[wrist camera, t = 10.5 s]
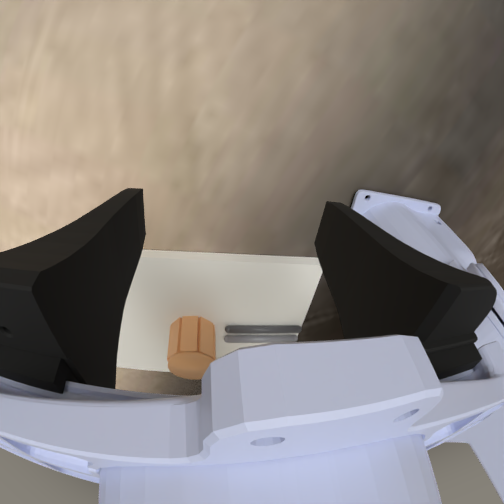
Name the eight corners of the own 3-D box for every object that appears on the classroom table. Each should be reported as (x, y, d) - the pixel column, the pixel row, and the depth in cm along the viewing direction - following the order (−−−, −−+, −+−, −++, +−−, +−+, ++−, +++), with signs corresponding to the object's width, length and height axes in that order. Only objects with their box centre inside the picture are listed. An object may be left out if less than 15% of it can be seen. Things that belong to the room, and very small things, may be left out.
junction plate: (321, 257, 25) (335, 289, 22) (280, 366, 36) (285, 392, 33) (71, 245, 22) (54, 276, 19) (111, 359, 33) (106, 386, 29)
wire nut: (213, 315, 27) (213, 355, 24) (216, 341, 30) (218, 378, 26) (167, 316, 27) (162, 355, 23) (175, 343, 29) (173, 379, 26)
